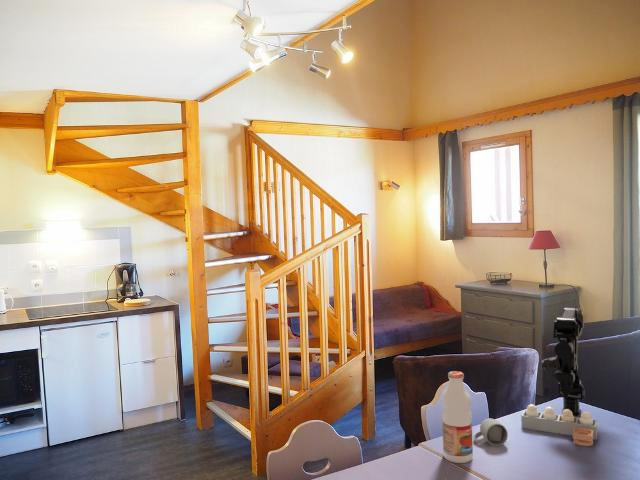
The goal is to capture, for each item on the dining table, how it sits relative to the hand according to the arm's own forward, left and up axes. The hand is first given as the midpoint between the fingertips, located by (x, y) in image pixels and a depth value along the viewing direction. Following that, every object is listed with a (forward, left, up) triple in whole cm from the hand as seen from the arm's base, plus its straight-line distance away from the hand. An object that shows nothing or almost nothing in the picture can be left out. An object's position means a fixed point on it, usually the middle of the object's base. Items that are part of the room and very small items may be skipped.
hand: (567, 393), depth 194 cm
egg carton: (+6, -2, -12) cm, 14 cm away
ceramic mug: (+28, -22, -12) cm, 38 cm away
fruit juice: (+44, -29, -12) cm, 54 cm away
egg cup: (+14, +6, -12) cm, 20 cm away
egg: (+6, -5, -10) cm, 13 cm away
